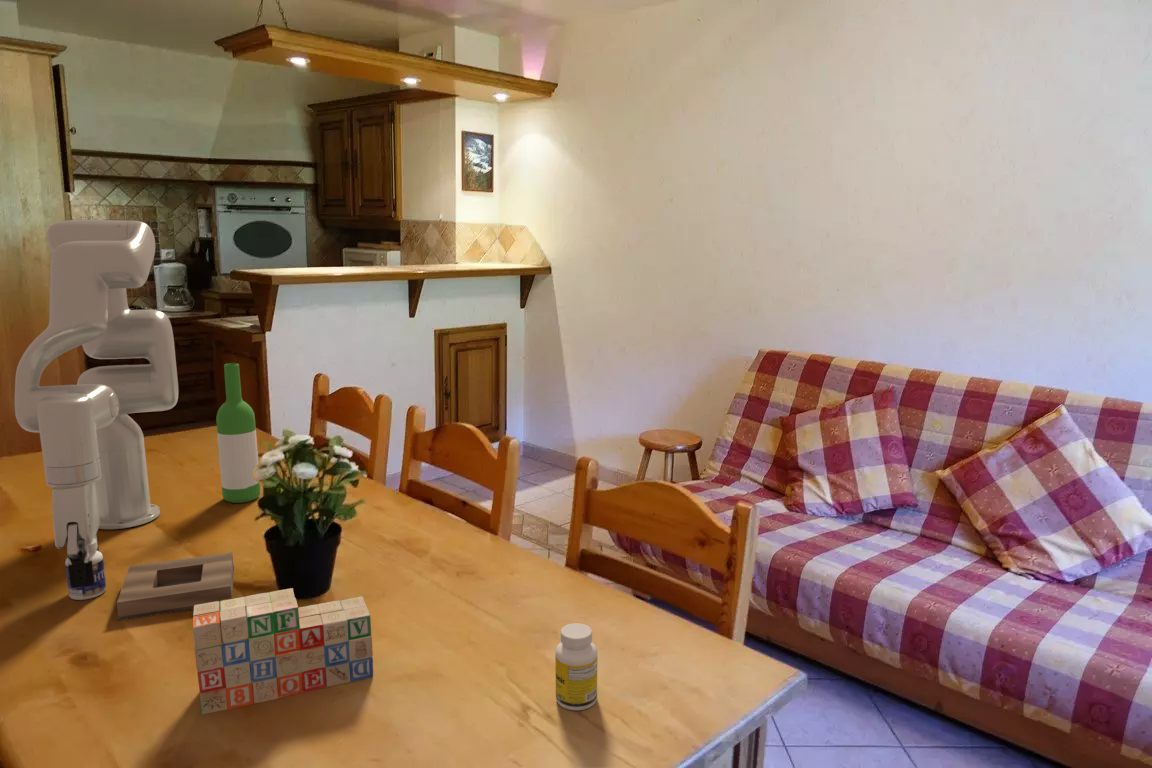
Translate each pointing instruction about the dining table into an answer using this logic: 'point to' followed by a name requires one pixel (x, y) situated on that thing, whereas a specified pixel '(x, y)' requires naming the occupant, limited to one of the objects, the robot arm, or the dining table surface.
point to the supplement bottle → (576, 668)
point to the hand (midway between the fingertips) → (86, 576)
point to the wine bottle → (237, 442)
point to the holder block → (175, 585)
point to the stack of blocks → (278, 647)
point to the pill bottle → (98, 572)
